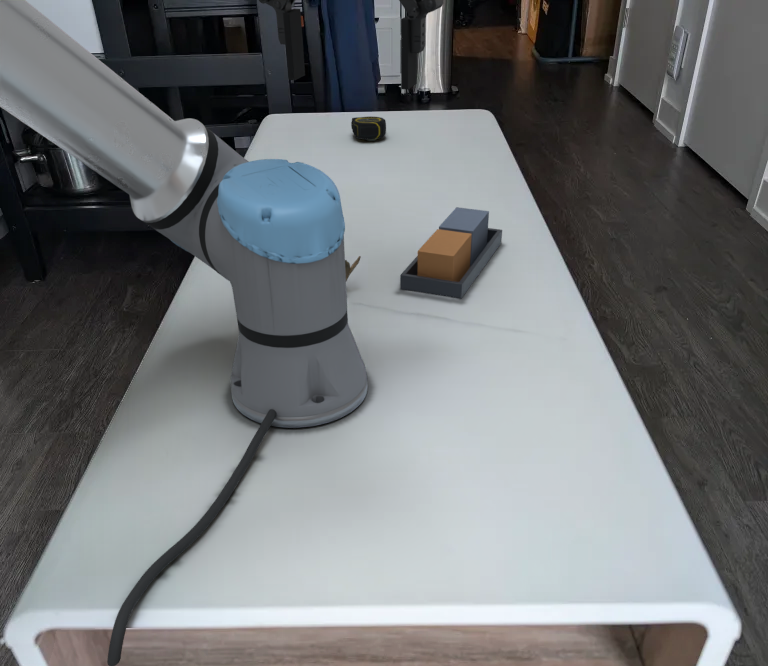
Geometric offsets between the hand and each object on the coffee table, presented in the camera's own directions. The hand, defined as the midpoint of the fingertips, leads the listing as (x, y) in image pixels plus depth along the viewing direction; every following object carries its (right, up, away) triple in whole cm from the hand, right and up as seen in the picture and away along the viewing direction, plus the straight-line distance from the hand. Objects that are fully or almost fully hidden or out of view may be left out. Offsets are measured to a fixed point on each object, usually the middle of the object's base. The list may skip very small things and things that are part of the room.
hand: (351, 82), depth 89 cm
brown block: (+12, -15, +22) cm, 29 cm away
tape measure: (0, +28, +74) cm, 79 cm away
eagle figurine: (-5, -17, +22) cm, 28 cm away
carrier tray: (+14, -13, +26) cm, 32 cm away
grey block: (+15, -10, +28) cm, 34 cm away
